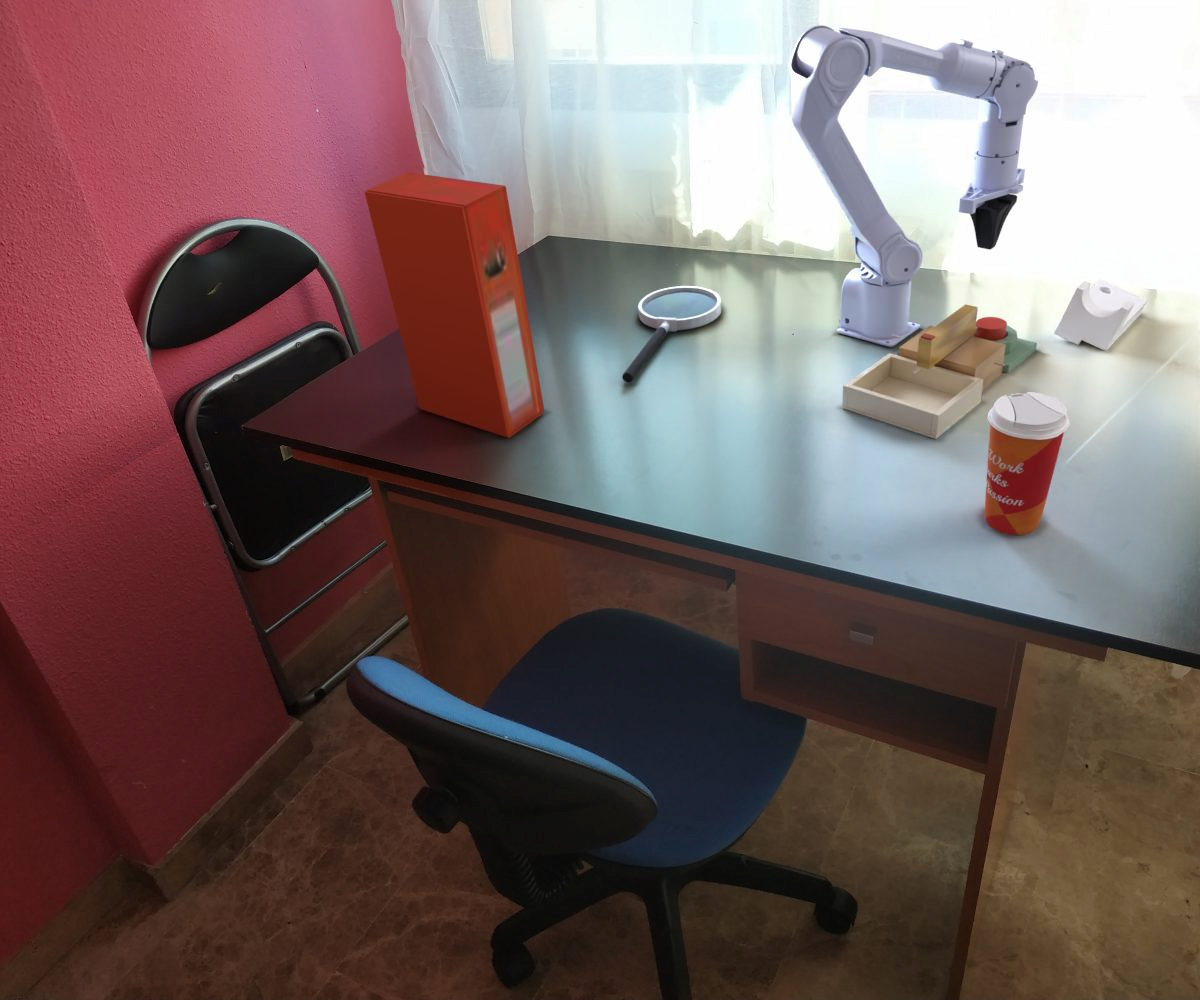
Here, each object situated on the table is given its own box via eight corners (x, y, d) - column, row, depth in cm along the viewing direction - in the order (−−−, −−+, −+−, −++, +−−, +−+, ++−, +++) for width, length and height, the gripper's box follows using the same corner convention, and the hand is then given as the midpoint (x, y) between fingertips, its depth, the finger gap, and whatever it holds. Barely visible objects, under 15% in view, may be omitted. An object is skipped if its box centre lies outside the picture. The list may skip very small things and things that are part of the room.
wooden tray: (842, 408, 130) (842, 385, 128) (887, 375, 136) (889, 352, 134) (936, 439, 121) (938, 415, 119) (980, 402, 127) (983, 379, 125)
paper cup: (963, 504, 110) (976, 394, 102) (1030, 495, 110) (1049, 384, 102) (992, 546, 104) (1009, 433, 96) (1064, 536, 104) (1087, 422, 96)
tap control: (940, 354, 139) (942, 335, 137) (968, 333, 143) (970, 314, 141) (1008, 373, 133) (1011, 353, 131) (1035, 350, 137) (1039, 330, 135)
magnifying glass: (585, 380, 144) (584, 367, 143) (654, 294, 167) (653, 283, 166) (672, 388, 139) (671, 375, 138) (730, 298, 162) (730, 287, 161)
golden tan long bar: (962, 331, 134) (965, 302, 132) (974, 334, 133) (978, 305, 131) (916, 366, 128) (918, 336, 125) (928, 369, 127) (931, 339, 124)
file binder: (506, 439, 133) (461, 206, 114) (418, 410, 142) (364, 190, 124) (544, 412, 138) (507, 184, 119) (457, 386, 147) (410, 171, 129)
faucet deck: (857, 388, 134) (858, 357, 131) (920, 343, 142) (923, 313, 140) (968, 423, 124) (972, 390, 121) (1029, 372, 132) (1034, 340, 130)
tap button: (969, 337, 137) (970, 324, 135) (983, 327, 139) (985, 314, 138) (996, 344, 134) (998, 331, 133) (1010, 333, 136) (1012, 320, 135)
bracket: (1102, 356, 135) (1128, 310, 130) (1054, 333, 138) (1077, 287, 133) (1136, 320, 143) (1161, 275, 137) (1089, 299, 146) (1112, 254, 140)
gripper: (998, 170, 128) (987, 269, 136) (1050, 139, 136) (1037, 235, 143) (948, 163, 133) (940, 260, 140) (1001, 134, 140) (991, 227, 148)
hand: (986, 246), depth 142 cm, fingers closed
